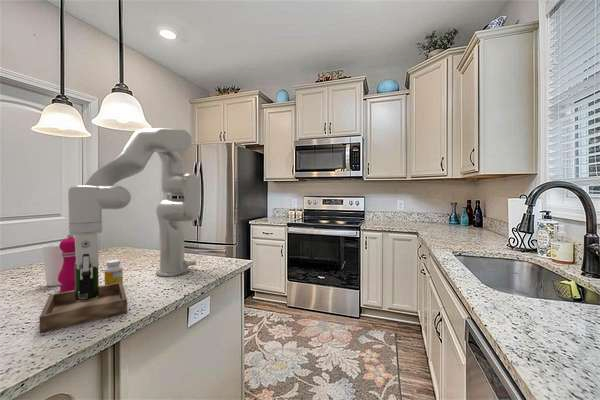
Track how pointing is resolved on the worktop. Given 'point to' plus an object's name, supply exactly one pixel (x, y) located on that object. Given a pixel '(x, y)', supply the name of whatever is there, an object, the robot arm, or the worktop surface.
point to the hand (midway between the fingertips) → (87, 289)
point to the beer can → (87, 296)
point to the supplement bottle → (113, 272)
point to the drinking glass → (52, 263)
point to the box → (82, 308)
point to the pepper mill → (67, 264)
